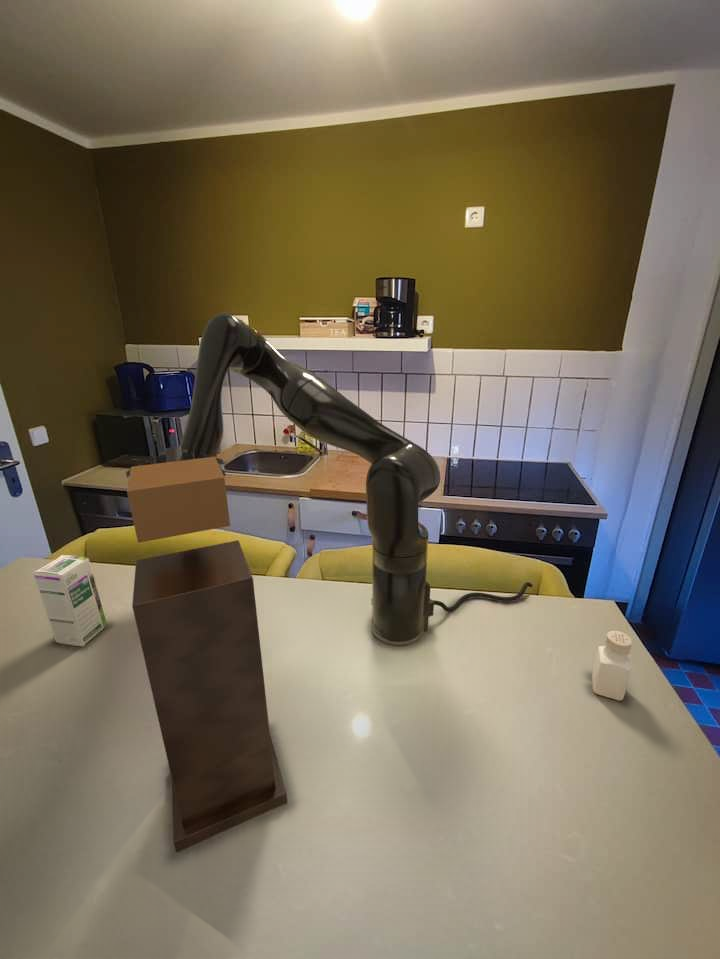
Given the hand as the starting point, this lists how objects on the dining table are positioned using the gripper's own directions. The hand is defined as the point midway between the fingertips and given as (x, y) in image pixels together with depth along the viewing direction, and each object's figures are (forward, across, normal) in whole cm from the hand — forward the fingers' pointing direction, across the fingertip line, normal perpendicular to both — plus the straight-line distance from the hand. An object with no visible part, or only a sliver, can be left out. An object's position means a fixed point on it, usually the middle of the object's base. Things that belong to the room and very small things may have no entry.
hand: (175, 459), depth 53 cm
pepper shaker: (+4, +54, +44) cm, 70 cm away
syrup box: (-37, -20, +21) cm, 47 cm away
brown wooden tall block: (-4, 0, +40) cm, 40 cm away
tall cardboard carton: (+3, 0, +4) cm, 5 cm away
